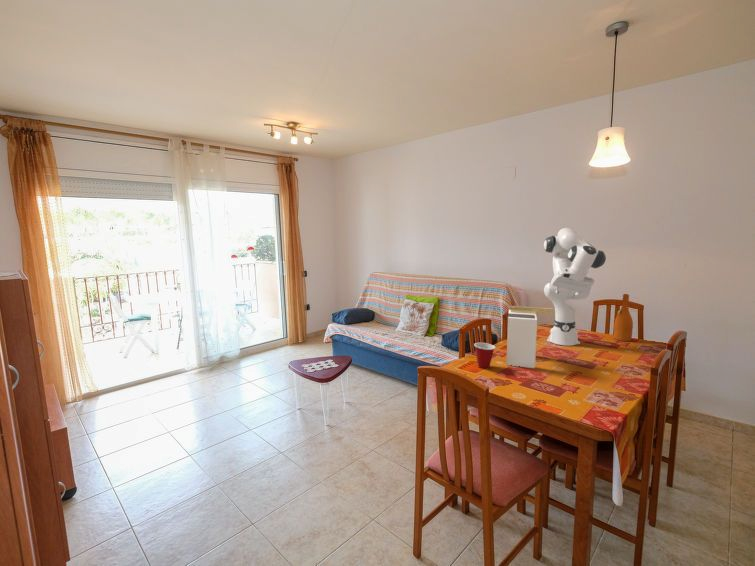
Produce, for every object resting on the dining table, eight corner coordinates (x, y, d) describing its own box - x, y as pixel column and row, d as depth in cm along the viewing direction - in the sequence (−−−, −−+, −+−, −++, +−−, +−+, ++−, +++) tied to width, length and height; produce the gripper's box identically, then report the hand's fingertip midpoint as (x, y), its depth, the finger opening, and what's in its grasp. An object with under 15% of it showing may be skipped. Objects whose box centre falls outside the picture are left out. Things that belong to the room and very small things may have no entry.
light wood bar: (510, 310, 203) (510, 305, 203) (553, 313, 195) (553, 308, 195) (510, 312, 201) (510, 306, 200) (553, 314, 193) (554, 309, 192)
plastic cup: (498, 370, 185) (498, 347, 183) (477, 371, 184) (478, 348, 182) (490, 362, 195) (491, 341, 194) (470, 363, 195) (471, 342, 193)
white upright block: (507, 352, 211) (508, 309, 207) (533, 355, 206) (535, 310, 202) (506, 365, 191) (508, 317, 187) (534, 368, 186) (537, 319, 182)
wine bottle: (617, 336, 238) (621, 292, 234) (634, 340, 230) (638, 294, 225) (610, 339, 233) (613, 293, 228) (627, 342, 224) (631, 296, 220)
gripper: (593, 276, 197) (582, 296, 204) (556, 267, 198) (546, 288, 206) (597, 281, 191) (585, 302, 199) (559, 272, 193) (548, 293, 200)
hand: (565, 295), depth 202 cm, fingers open, 8 cm apart
